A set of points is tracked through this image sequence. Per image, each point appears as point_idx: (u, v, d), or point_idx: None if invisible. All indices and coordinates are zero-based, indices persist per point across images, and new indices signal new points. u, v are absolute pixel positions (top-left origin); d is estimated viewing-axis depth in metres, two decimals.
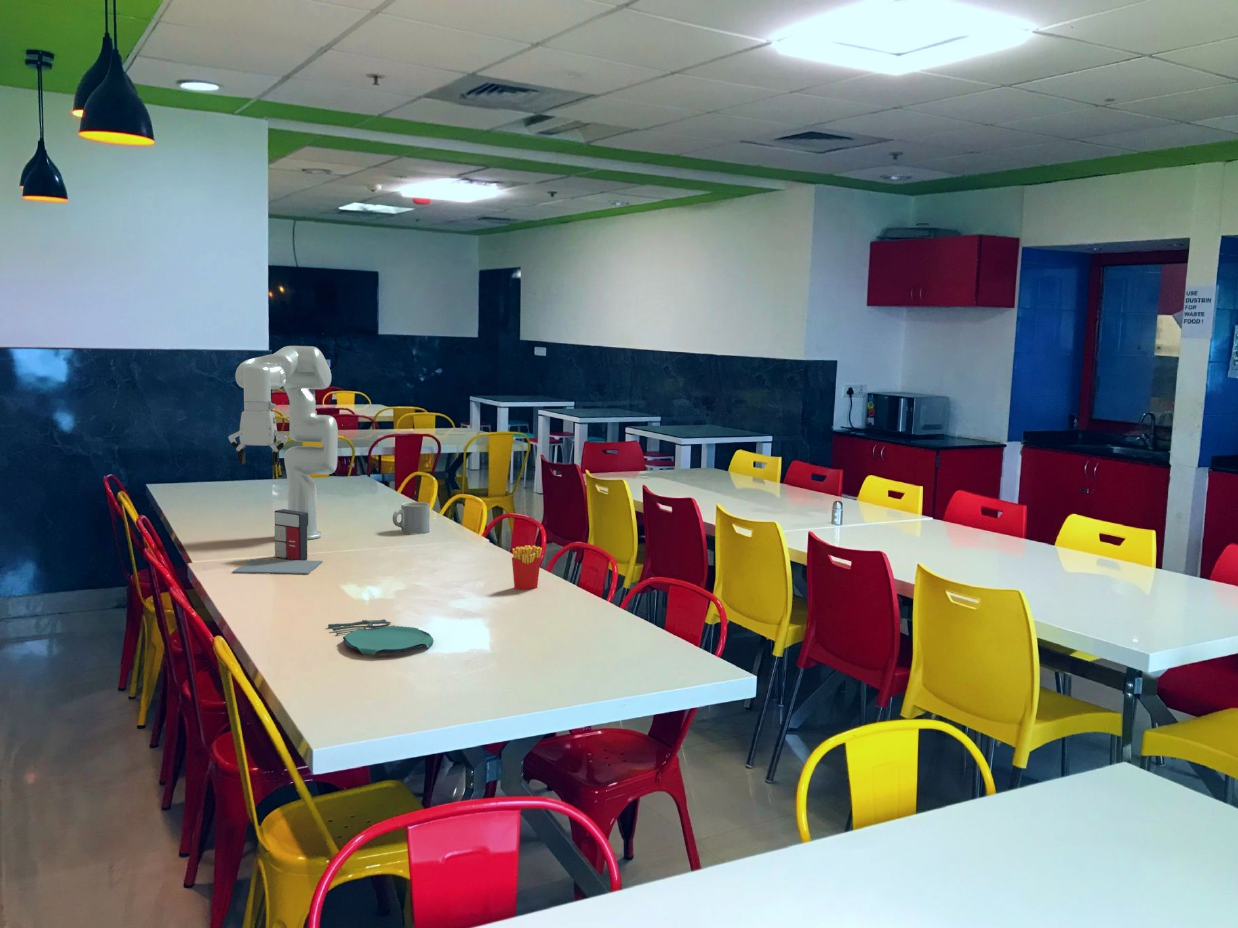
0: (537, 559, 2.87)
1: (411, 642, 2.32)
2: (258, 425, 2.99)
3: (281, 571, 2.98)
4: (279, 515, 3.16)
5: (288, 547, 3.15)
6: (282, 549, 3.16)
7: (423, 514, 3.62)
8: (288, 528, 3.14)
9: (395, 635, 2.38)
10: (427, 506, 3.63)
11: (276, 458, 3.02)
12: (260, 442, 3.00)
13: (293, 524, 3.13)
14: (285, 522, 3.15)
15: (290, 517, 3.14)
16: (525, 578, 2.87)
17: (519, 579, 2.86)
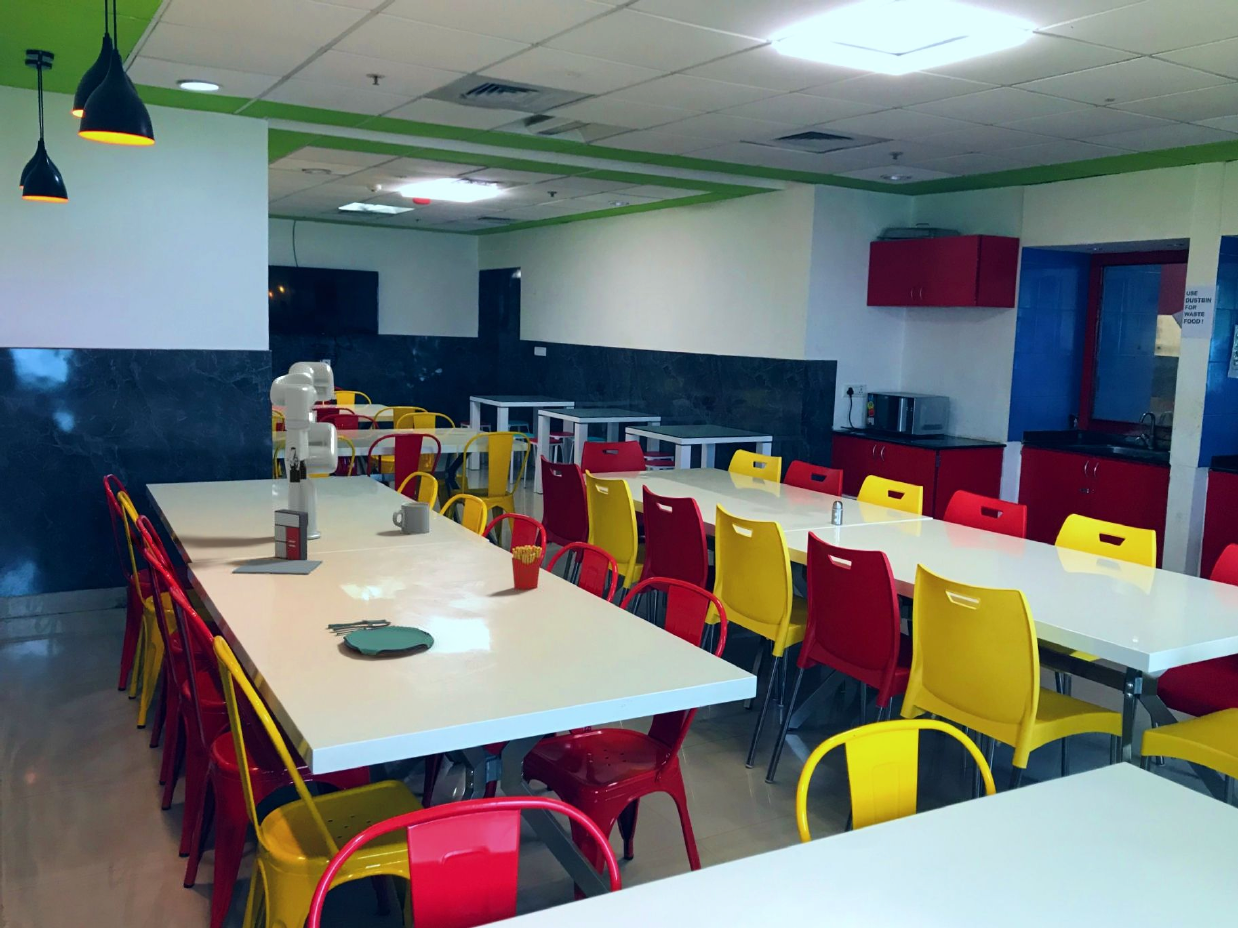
0: (537, 559, 2.87)
1: (412, 642, 2.32)
2: (306, 440, 3.23)
3: (281, 571, 2.98)
4: (279, 515, 3.16)
5: (288, 547, 3.15)
6: (282, 549, 3.16)
7: (423, 514, 3.62)
8: (288, 528, 3.14)
9: (395, 635, 2.38)
10: (427, 506, 3.63)
11: None
12: (305, 456, 3.24)
13: (293, 524, 3.13)
14: (285, 522, 3.15)
15: (290, 517, 3.14)
16: (525, 578, 2.87)
17: (519, 579, 2.86)
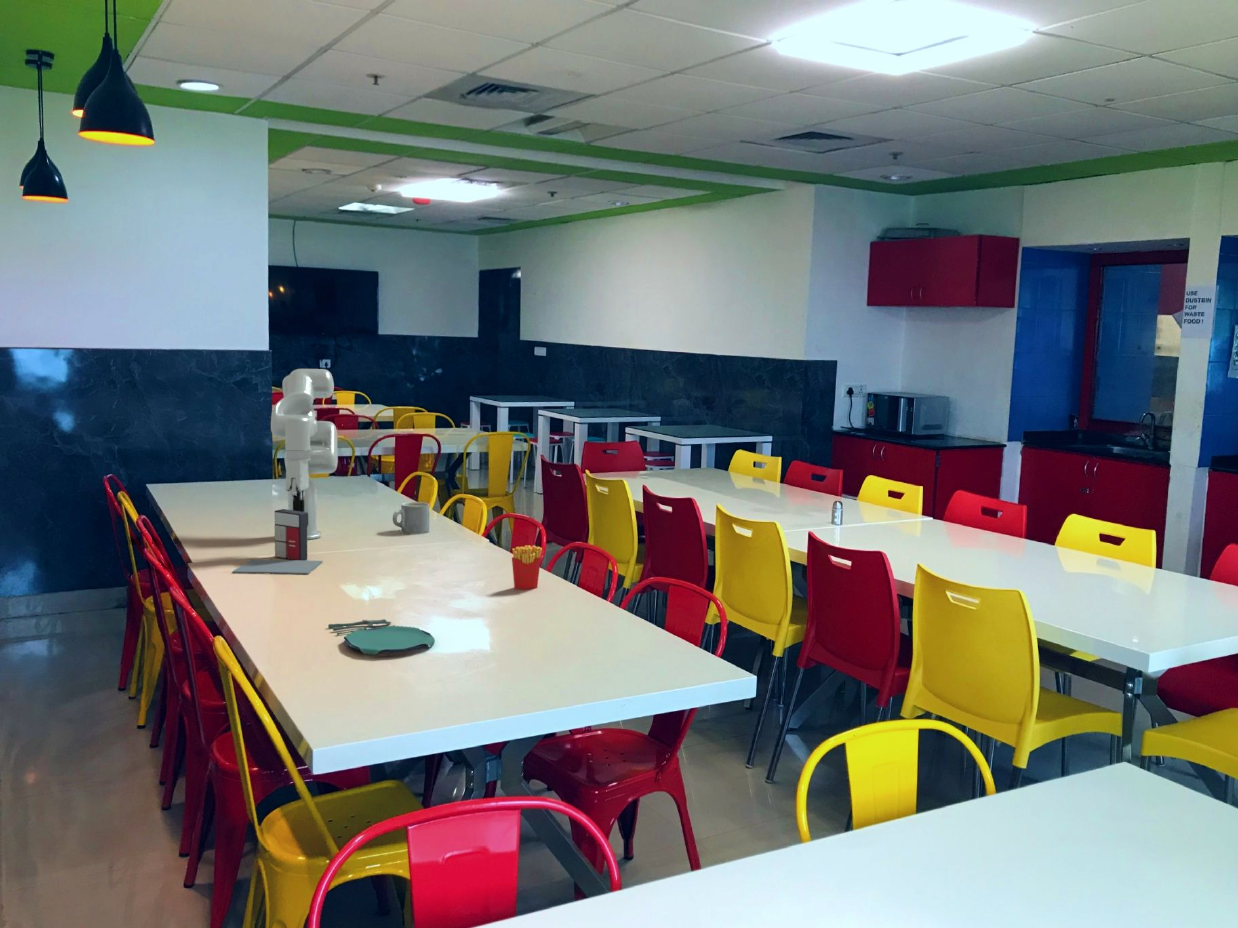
0: (537, 559, 2.87)
1: (412, 642, 2.33)
2: (306, 471, 3.24)
3: (281, 571, 2.98)
4: (279, 515, 3.16)
5: (288, 547, 3.15)
6: (282, 549, 3.16)
7: (423, 514, 3.62)
8: (288, 528, 3.14)
9: (396, 635, 2.38)
10: (427, 506, 3.63)
11: None
12: (306, 486, 3.25)
13: (293, 524, 3.13)
14: (285, 522, 3.15)
15: (290, 517, 3.14)
16: (525, 578, 2.87)
17: (519, 579, 2.86)
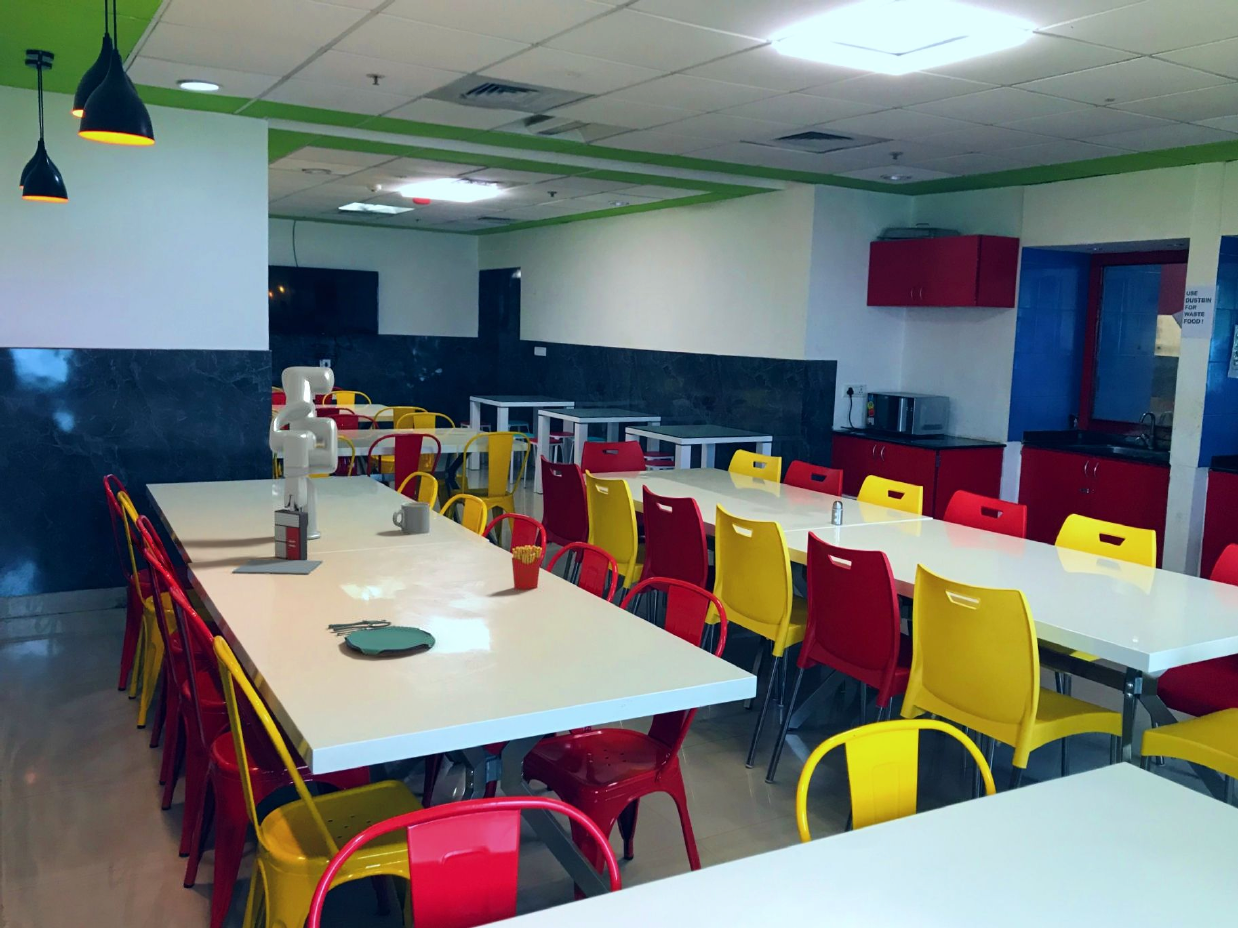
0: (537, 559, 2.87)
1: (413, 642, 2.33)
2: (305, 487, 3.23)
3: (281, 571, 2.98)
4: (279, 515, 3.16)
5: (288, 547, 3.15)
6: (282, 549, 3.16)
7: (423, 514, 3.62)
8: (288, 528, 3.14)
9: (396, 635, 2.38)
10: (427, 506, 3.63)
11: None
12: (304, 503, 3.24)
13: (293, 524, 3.13)
14: (285, 522, 3.15)
15: (290, 517, 3.14)
16: (525, 578, 2.87)
17: (519, 579, 2.86)
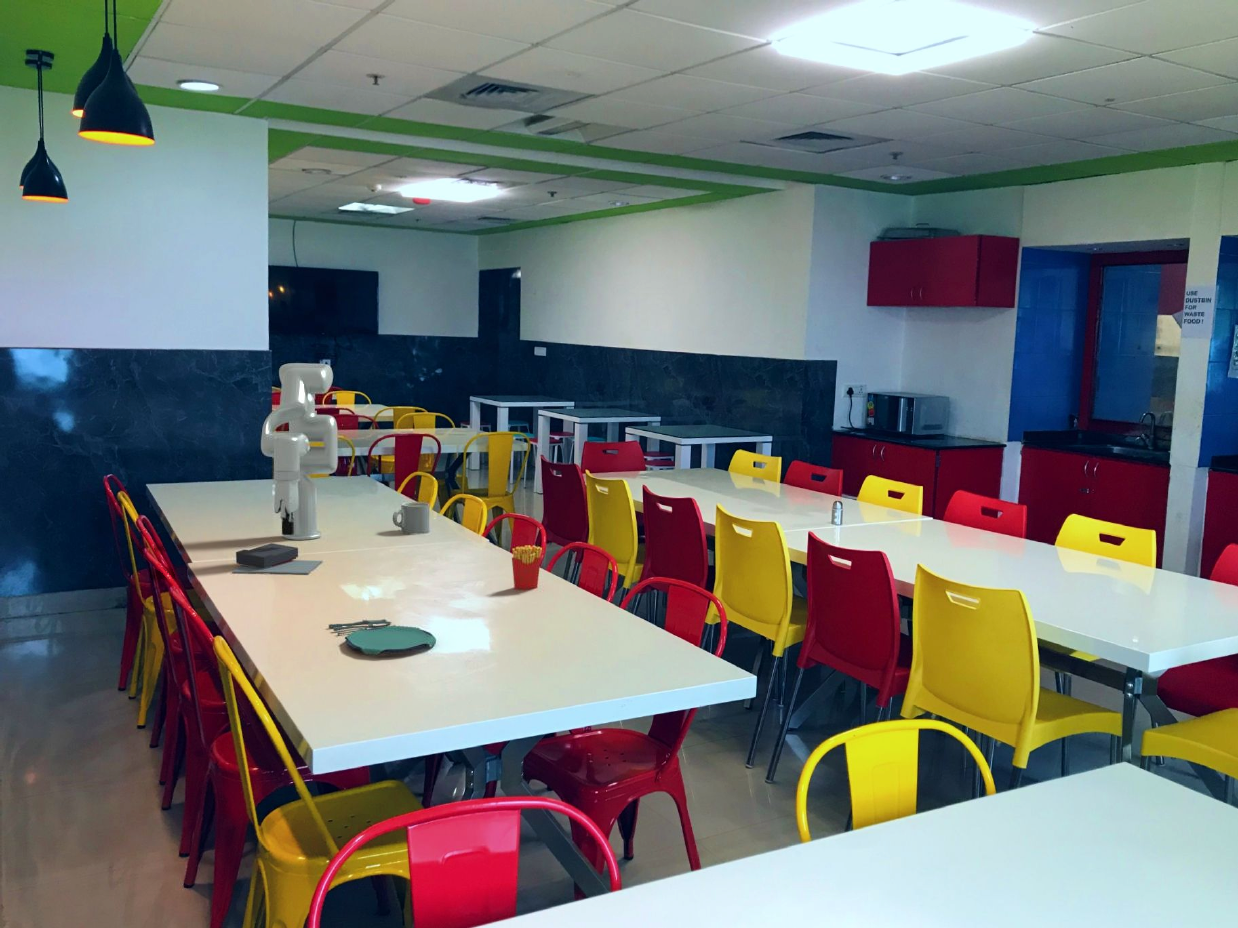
0: (537, 559, 2.87)
1: (414, 642, 2.33)
2: (296, 492, 3.13)
3: (281, 571, 2.98)
4: None
5: None
6: None
7: (423, 514, 3.62)
8: None
9: (397, 635, 2.38)
10: (427, 506, 3.63)
11: None
12: (295, 508, 3.14)
13: None
14: None
15: None
16: (525, 578, 2.87)
17: (519, 579, 2.86)
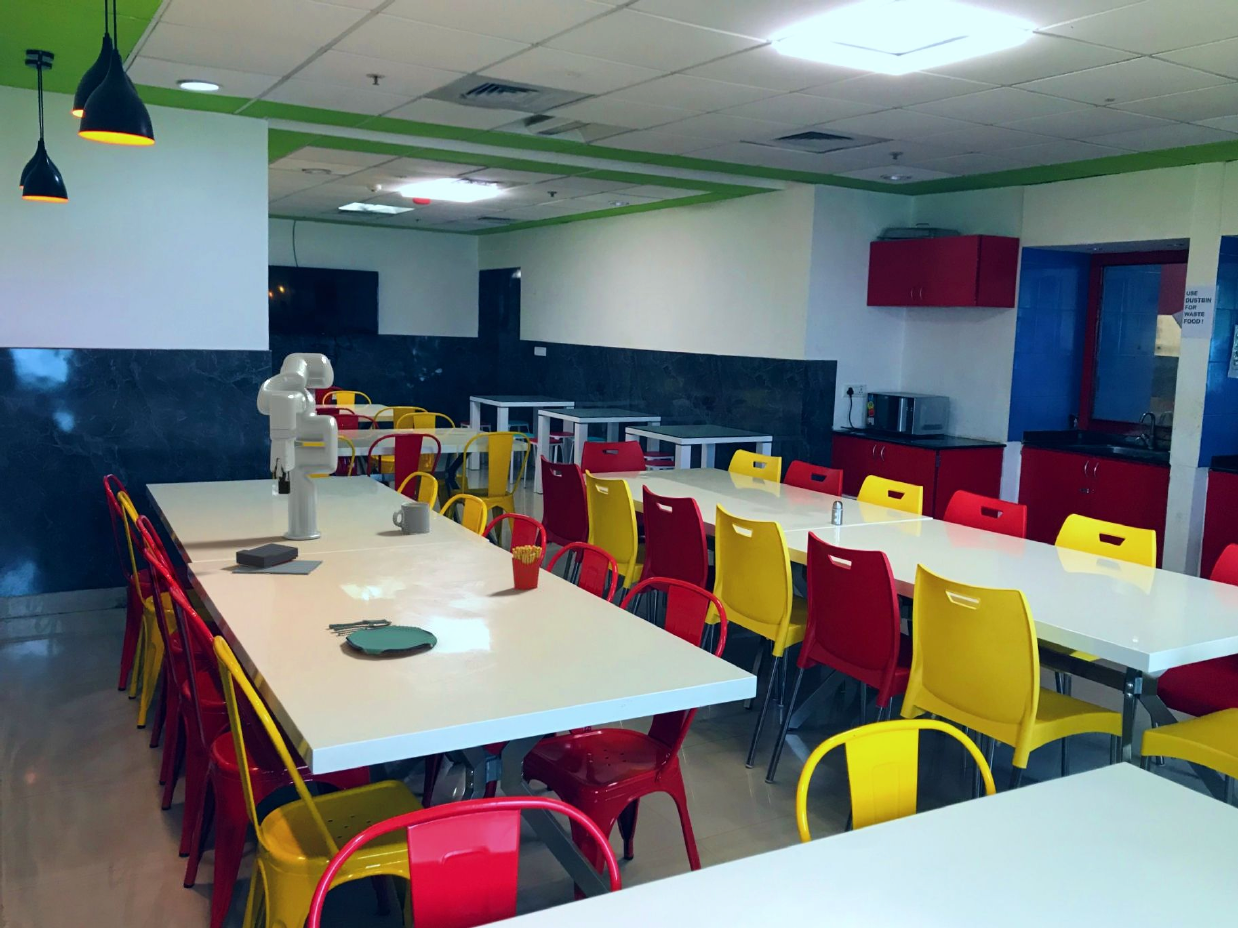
0: (537, 559, 2.87)
1: (415, 641, 2.33)
2: (292, 450, 3.09)
3: (281, 571, 2.98)
4: None
5: None
6: None
7: (423, 514, 3.62)
8: None
9: (398, 635, 2.38)
10: (427, 506, 3.63)
11: None
12: (292, 467, 3.10)
13: None
14: None
15: None
16: (525, 578, 2.87)
17: (519, 579, 2.86)
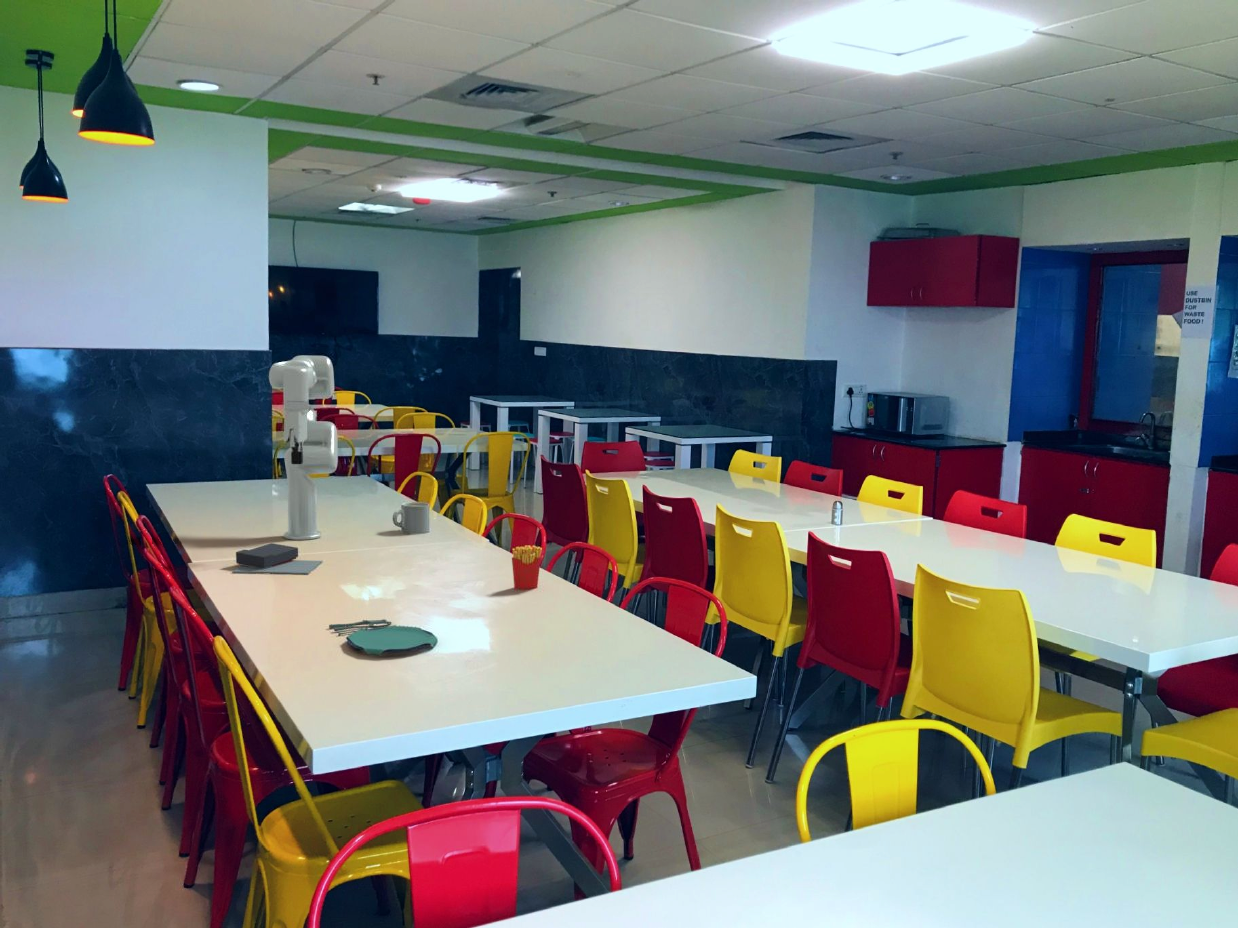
0: (537, 559, 2.87)
1: (415, 642, 2.33)
2: (305, 422, 3.21)
3: (281, 571, 2.98)
4: None
5: None
6: None
7: (423, 514, 3.62)
8: None
9: (398, 635, 2.38)
10: (427, 506, 3.63)
11: None
12: (304, 438, 3.22)
13: None
14: None
15: None
16: (525, 578, 2.87)
17: (519, 579, 2.86)
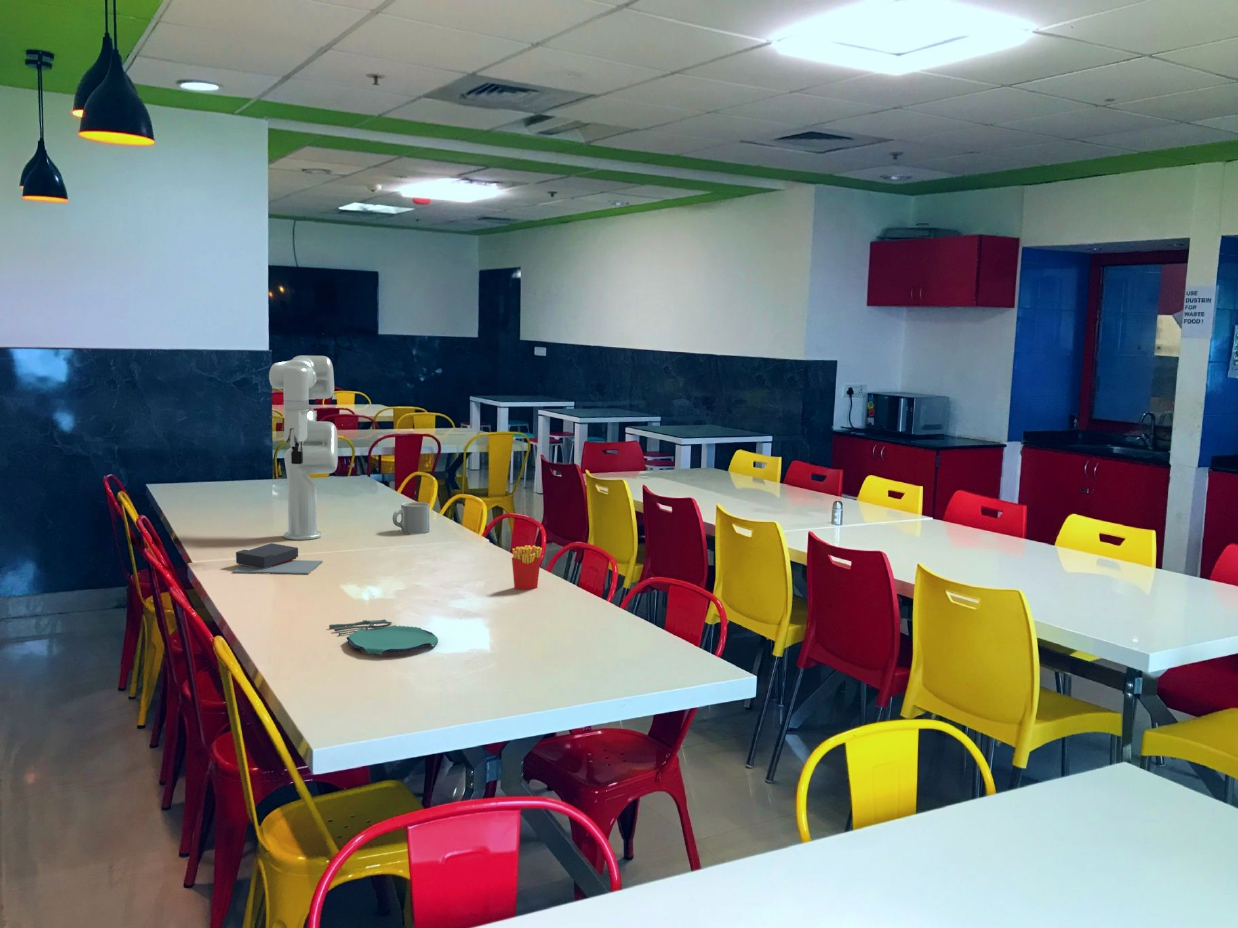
0: (537, 559, 2.87)
1: (416, 642, 2.33)
2: (305, 422, 3.21)
3: (281, 571, 2.98)
4: None
5: None
6: None
7: (423, 514, 3.62)
8: None
9: (398, 635, 2.38)
10: (427, 506, 3.63)
11: None
12: (304, 438, 3.22)
13: None
14: None
15: None
16: (525, 578, 2.87)
17: (519, 579, 2.86)
